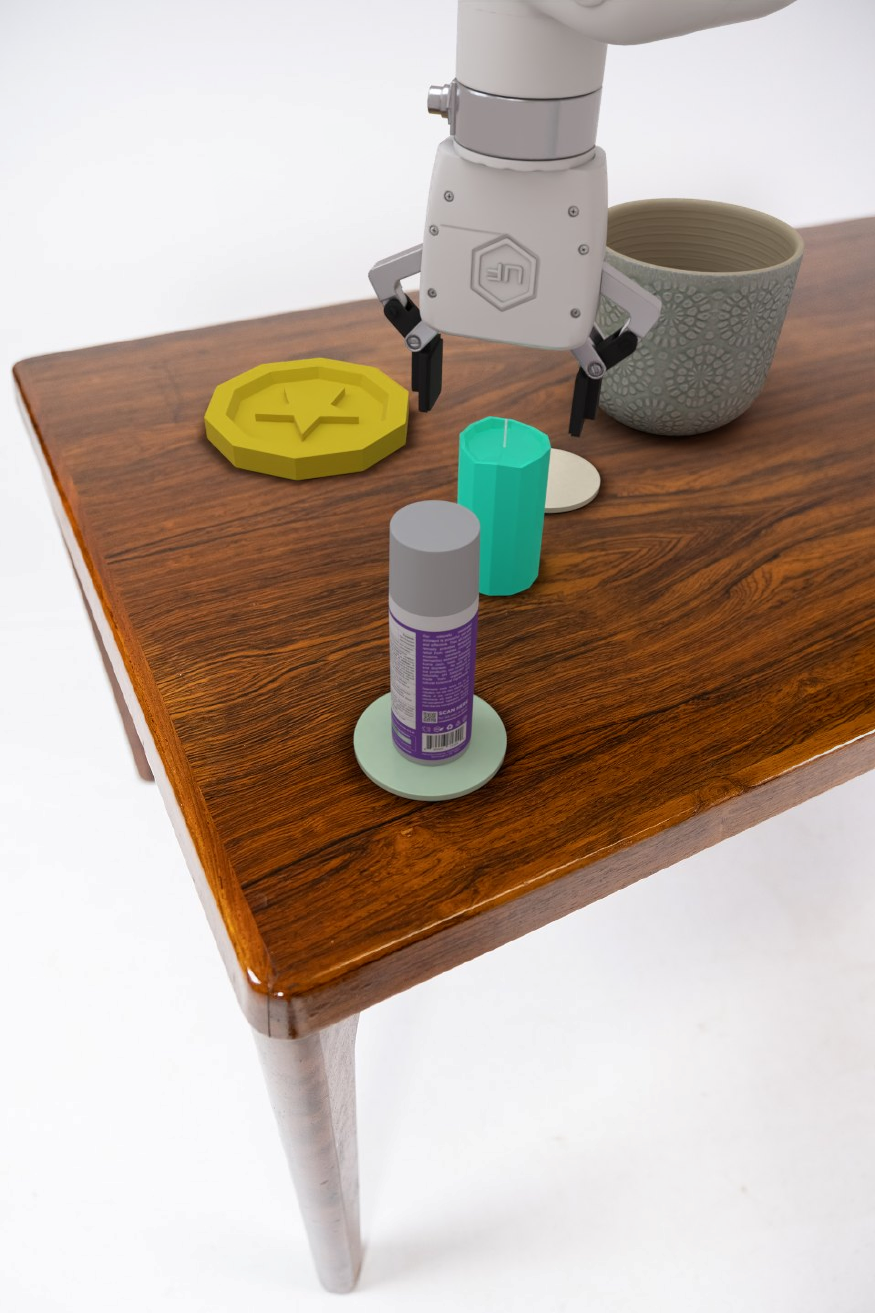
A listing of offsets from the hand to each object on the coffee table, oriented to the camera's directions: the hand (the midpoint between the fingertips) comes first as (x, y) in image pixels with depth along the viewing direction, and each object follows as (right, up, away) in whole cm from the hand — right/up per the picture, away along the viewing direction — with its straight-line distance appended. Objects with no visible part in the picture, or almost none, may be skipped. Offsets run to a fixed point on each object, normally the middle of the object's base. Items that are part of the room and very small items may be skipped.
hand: (502, 414), depth 64 cm
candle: (0, -9, +8) cm, 12 cm away
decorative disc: (-15, +4, +23) cm, 28 cm away
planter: (+16, +7, +26) cm, 31 cm away
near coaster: (-5, -20, -5) cm, 22 cm away
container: (-5, -20, -5) cm, 21 cm away
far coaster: (+4, -1, +17) cm, 17 cm away
